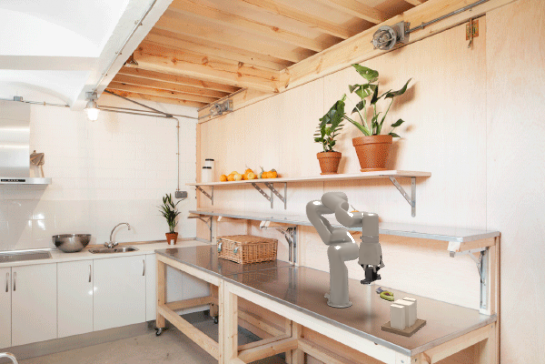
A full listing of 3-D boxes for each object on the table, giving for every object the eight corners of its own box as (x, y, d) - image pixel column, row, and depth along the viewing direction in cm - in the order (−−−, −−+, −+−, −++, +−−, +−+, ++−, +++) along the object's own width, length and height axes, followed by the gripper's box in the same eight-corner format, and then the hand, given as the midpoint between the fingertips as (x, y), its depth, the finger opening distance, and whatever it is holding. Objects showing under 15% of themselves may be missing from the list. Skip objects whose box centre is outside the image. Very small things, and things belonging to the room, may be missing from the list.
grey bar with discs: (357, 283, 166) (357, 269, 166) (374, 276, 177) (374, 264, 178) (367, 285, 163) (367, 271, 163) (383, 278, 174) (383, 265, 174)
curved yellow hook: (371, 289, 221) (384, 302, 196) (371, 284, 221) (384, 297, 196) (384, 289, 221) (399, 301, 196) (384, 284, 221) (399, 296, 196)
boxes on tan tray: (381, 329, 156) (380, 304, 157) (399, 317, 170) (399, 295, 171) (409, 337, 148) (408, 310, 149) (426, 323, 162) (425, 299, 163)
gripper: (350, 239, 173) (351, 278, 173) (383, 242, 162) (384, 284, 162) (358, 237, 179) (359, 275, 178) (390, 240, 168) (391, 281, 167)
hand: (371, 279), depth 170 cm, fingers closed on grey bar with discs, 3 cm apart
